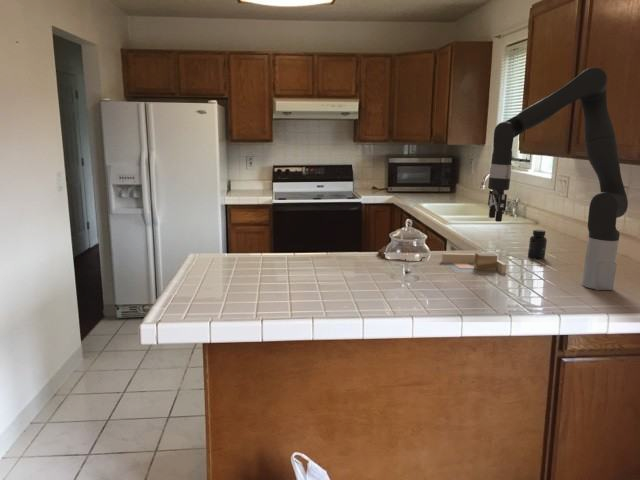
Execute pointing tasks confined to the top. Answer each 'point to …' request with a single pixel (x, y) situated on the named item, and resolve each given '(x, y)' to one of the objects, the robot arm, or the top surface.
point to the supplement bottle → (537, 245)
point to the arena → (468, 263)
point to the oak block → (485, 262)
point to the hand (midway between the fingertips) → (494, 219)
